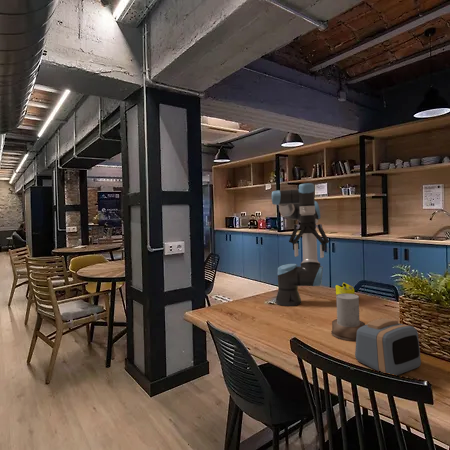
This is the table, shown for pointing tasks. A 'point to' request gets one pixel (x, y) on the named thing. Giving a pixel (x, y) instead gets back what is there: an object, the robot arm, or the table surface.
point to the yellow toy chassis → (344, 289)
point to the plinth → (345, 331)
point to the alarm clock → (388, 346)
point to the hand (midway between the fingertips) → (309, 257)
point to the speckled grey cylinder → (348, 310)
